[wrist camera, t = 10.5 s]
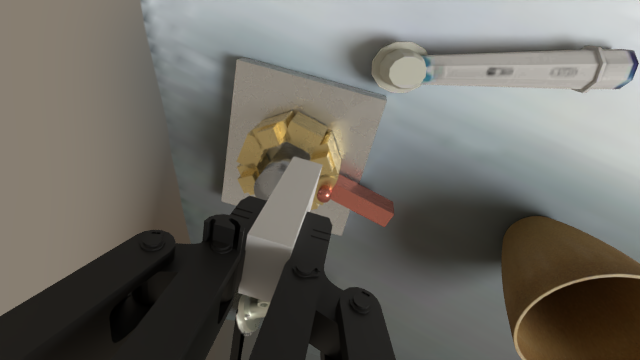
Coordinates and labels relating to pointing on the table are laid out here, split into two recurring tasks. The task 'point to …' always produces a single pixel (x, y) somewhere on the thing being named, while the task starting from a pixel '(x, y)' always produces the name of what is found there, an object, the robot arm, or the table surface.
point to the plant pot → (569, 294)
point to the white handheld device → (503, 68)
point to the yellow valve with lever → (321, 151)
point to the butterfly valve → (246, 322)
